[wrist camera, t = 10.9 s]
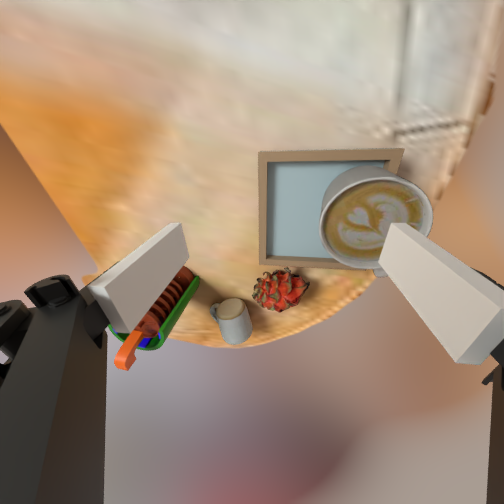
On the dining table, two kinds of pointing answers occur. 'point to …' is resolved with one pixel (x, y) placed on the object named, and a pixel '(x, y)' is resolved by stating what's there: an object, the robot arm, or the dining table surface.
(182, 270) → the green and brown toy
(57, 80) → the dining table surface
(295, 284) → the dragon fruit
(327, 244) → the coffee mug
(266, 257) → the picture frame
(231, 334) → the ceramic mug
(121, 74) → the dining table surface
